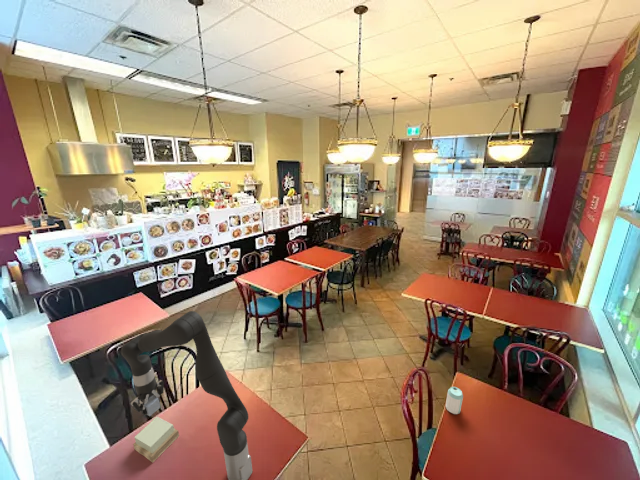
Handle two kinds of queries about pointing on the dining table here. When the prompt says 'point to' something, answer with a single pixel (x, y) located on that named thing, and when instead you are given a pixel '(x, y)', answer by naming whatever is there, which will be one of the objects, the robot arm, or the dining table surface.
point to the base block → (160, 450)
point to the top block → (154, 434)
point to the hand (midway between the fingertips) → (151, 408)
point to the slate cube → (152, 405)
